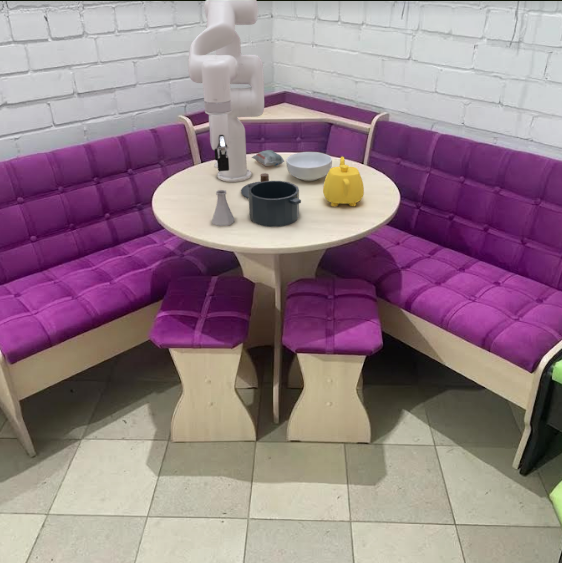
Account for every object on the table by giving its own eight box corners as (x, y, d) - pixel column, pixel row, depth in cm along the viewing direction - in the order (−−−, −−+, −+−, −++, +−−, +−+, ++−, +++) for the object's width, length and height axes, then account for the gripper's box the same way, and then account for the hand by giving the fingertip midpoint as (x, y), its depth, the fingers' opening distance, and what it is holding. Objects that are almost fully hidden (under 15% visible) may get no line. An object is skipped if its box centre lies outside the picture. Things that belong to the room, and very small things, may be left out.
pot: (280, 234, 169) (279, 206, 164) (233, 214, 181) (232, 188, 177) (315, 218, 178) (315, 191, 173) (268, 200, 191) (268, 174, 186)
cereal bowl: (292, 167, 217) (292, 149, 214) (335, 171, 213) (336, 153, 210) (281, 183, 204) (280, 164, 200) (326, 187, 200) (326, 168, 196)
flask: (231, 227, 173) (229, 197, 168) (208, 225, 174) (206, 195, 169) (237, 217, 179) (235, 188, 174) (215, 216, 180) (213, 186, 175)
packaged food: (265, 170, 215) (265, 158, 212) (251, 161, 224) (251, 149, 221) (285, 167, 218) (285, 154, 216) (270, 158, 227) (270, 146, 225)
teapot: (359, 188, 198) (361, 154, 192) (366, 212, 181) (368, 175, 175) (321, 189, 198) (322, 155, 192) (324, 212, 181) (325, 176, 175)
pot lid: (264, 206, 186) (263, 187, 183) (231, 193, 196) (230, 175, 193) (298, 192, 196) (298, 174, 193) (265, 180, 206) (265, 163, 203)
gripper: (202, 100, 166) (207, 157, 175) (206, 115, 152) (211, 176, 160) (228, 99, 167) (231, 155, 176) (234, 113, 153) (238, 174, 161)
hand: (222, 165), depth 168 cm, fingers open, 9 cm apart
